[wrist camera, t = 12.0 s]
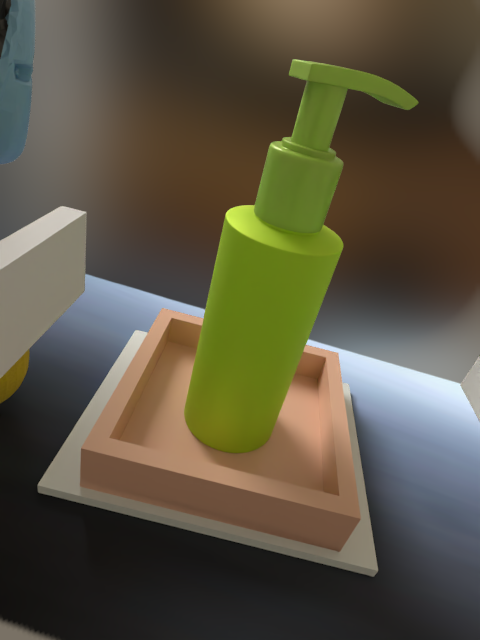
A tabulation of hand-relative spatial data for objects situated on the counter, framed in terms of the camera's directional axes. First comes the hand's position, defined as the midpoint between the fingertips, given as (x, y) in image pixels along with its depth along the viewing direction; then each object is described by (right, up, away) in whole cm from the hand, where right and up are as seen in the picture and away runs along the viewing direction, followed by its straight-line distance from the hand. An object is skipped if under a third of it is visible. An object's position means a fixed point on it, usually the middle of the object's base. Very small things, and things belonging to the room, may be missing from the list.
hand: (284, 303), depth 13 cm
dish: (-2, -7, +15) cm, 16 cm away
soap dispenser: (-2, -7, +14) cm, 16 cm away
